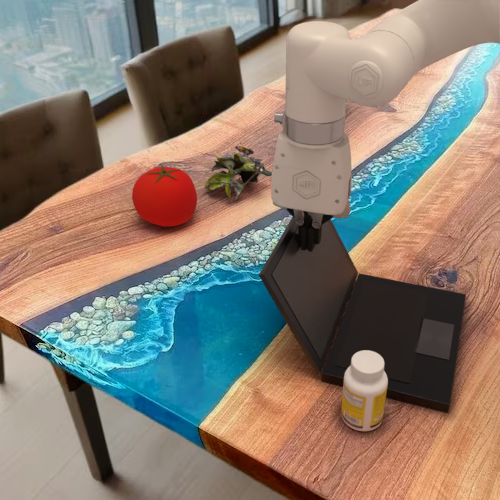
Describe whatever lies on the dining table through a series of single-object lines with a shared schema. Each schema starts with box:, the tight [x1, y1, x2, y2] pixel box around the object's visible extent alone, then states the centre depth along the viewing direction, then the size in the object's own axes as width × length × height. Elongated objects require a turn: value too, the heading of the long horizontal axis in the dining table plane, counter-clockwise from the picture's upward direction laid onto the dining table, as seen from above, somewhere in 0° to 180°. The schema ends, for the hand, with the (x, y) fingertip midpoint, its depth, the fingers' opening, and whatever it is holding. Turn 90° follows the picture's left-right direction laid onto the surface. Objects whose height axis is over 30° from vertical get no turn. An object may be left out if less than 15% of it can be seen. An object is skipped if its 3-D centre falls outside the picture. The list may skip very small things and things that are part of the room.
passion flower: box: [204, 145, 272, 203], centre depth 130 cm, size 11×11×12 cm
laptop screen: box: [258, 212, 359, 374], centre depth 94 cm, size 17×24×1 cm
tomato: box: [131, 165, 198, 228], centre depth 121 cm, size 12×12×10 cm
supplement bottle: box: [340, 350, 388, 432], centre depth 81 cm, size 5×5×10 cm
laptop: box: [320, 272, 467, 413], centre depth 95 cm, size 17×24×2 cm
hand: (309, 245), depth 92 cm, fingers closed
